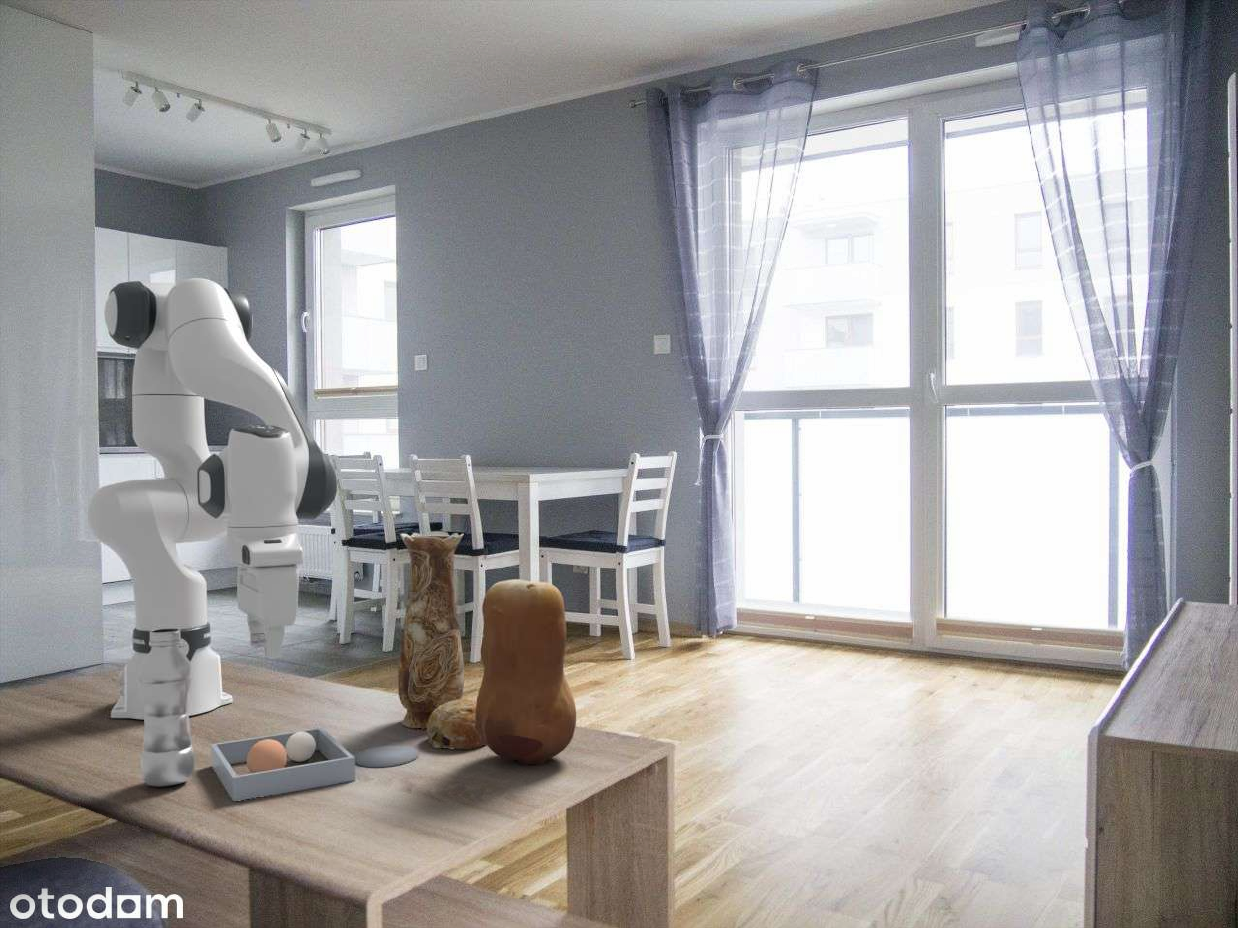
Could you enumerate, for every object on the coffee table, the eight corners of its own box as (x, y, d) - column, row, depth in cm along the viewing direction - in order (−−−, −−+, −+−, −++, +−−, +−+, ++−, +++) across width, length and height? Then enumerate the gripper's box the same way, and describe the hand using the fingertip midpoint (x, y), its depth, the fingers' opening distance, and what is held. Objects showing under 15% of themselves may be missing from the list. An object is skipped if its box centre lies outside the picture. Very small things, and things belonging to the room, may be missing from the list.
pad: (345, 754, 140) (345, 752, 140) (406, 744, 145) (406, 742, 145) (363, 771, 133) (363, 769, 133) (427, 760, 137) (427, 758, 137)
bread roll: (421, 768, 146) (407, 725, 142) (452, 722, 154) (440, 680, 151) (481, 775, 142) (468, 731, 139) (509, 727, 151) (498, 685, 148)
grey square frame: (211, 766, 136) (210, 744, 136) (321, 748, 144) (321, 727, 144) (233, 802, 121) (233, 778, 121) (355, 780, 129) (354, 757, 129)
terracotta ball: (243, 776, 131) (243, 738, 131) (282, 769, 134) (282, 732, 134) (251, 786, 127) (250, 747, 127) (291, 779, 130) (290, 741, 130)
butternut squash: (573, 743, 144) (570, 572, 144) (580, 772, 131) (577, 584, 131) (476, 748, 143) (474, 575, 142) (474, 778, 129) (471, 587, 129)
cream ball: (283, 759, 138) (282, 731, 138) (312, 755, 140) (311, 727, 140) (289, 767, 135) (288, 738, 135) (319, 762, 137) (318, 733, 137)
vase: (432, 710, 164) (430, 530, 164) (480, 719, 158) (477, 532, 158) (384, 724, 156) (381, 534, 156) (432, 735, 150) (429, 537, 149)
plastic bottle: (160, 796, 124) (158, 636, 124) (129, 787, 128) (126, 632, 128) (206, 781, 130) (203, 628, 129) (174, 773, 133) (172, 624, 133)
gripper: (224, 543, 138) (226, 643, 138) (253, 554, 120) (255, 668, 120) (271, 541, 141) (273, 638, 141) (306, 551, 123) (308, 662, 123)
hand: (265, 652), depth 130 cm, fingers open, 8 cm apart
